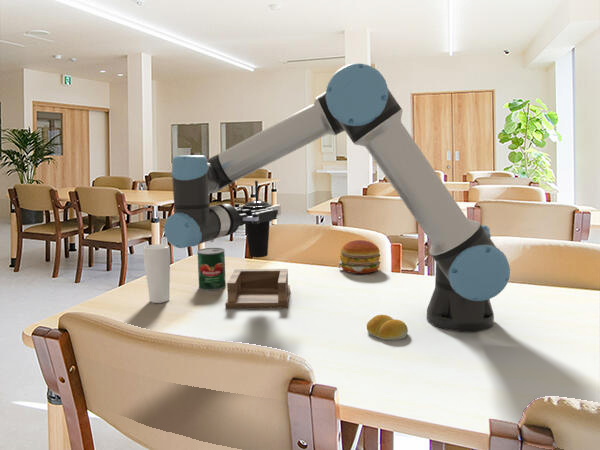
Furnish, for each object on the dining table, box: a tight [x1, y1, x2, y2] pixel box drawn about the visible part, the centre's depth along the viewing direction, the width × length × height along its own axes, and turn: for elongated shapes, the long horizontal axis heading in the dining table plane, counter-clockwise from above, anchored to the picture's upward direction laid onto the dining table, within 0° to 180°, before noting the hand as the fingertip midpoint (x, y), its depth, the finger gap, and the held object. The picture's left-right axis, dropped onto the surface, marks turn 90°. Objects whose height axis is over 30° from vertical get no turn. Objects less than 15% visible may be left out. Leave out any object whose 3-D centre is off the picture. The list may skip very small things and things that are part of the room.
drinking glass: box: [143, 243, 171, 304], centre depth 140 cm, size 7×7×15 cm
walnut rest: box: [224, 268, 291, 310], centre depth 142 cm, size 16×16×6 cm
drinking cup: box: [242, 180, 273, 258], centre depth 139 cm, size 8×8×20 cm
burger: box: [338, 239, 382, 274], centre depth 170 cm, size 13×14×10 cm
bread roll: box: [366, 314, 408, 341], centre depth 116 cm, size 8×9×4 cm
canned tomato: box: [196, 247, 227, 292], centre depth 153 cm, size 8×8×11 cm
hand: (266, 208), depth 143 cm, fingers closed on drinking cup, 7 cm apart
